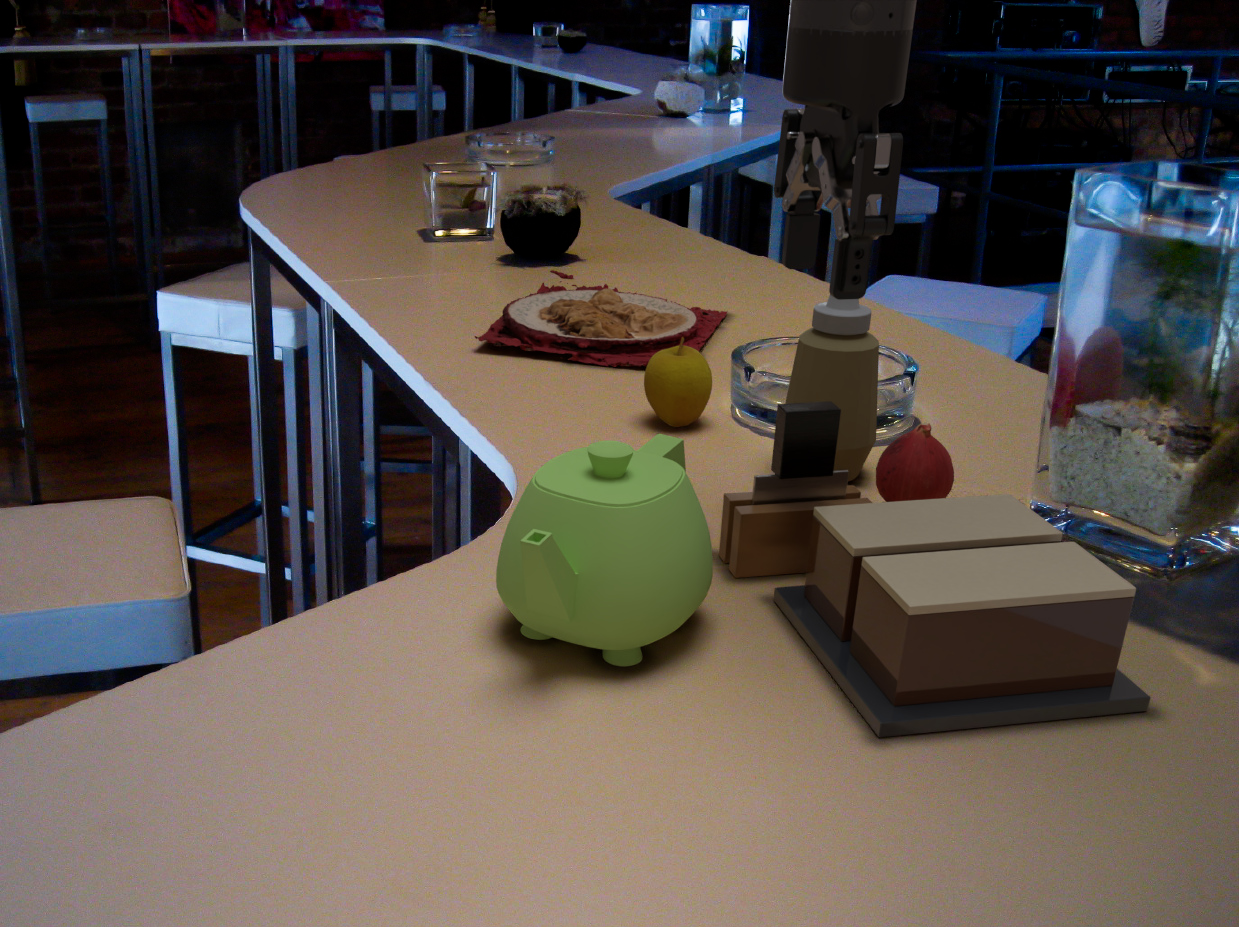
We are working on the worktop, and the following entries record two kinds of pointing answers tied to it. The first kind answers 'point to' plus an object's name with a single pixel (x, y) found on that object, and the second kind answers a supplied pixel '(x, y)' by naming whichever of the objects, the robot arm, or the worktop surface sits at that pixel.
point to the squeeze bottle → (841, 375)
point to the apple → (678, 384)
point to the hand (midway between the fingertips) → (821, 282)
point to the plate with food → (600, 324)
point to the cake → (961, 616)
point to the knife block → (770, 533)
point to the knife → (803, 456)
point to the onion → (915, 468)
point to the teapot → (607, 548)
